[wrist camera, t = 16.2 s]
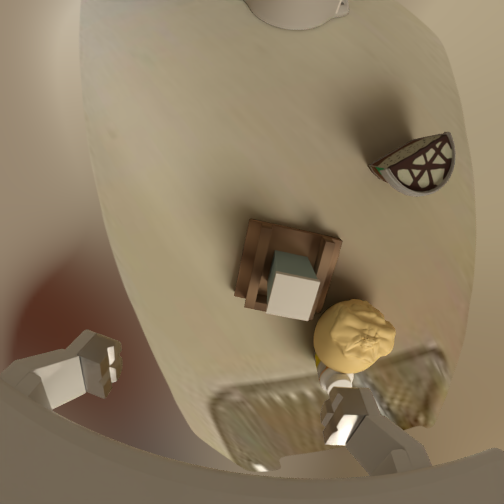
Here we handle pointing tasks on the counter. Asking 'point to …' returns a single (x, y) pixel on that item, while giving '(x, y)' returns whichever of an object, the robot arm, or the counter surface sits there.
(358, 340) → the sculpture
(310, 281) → the tin
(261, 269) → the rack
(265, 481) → the robot arm
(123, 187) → the counter surface
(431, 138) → the food container
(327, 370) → the supplement bottle
